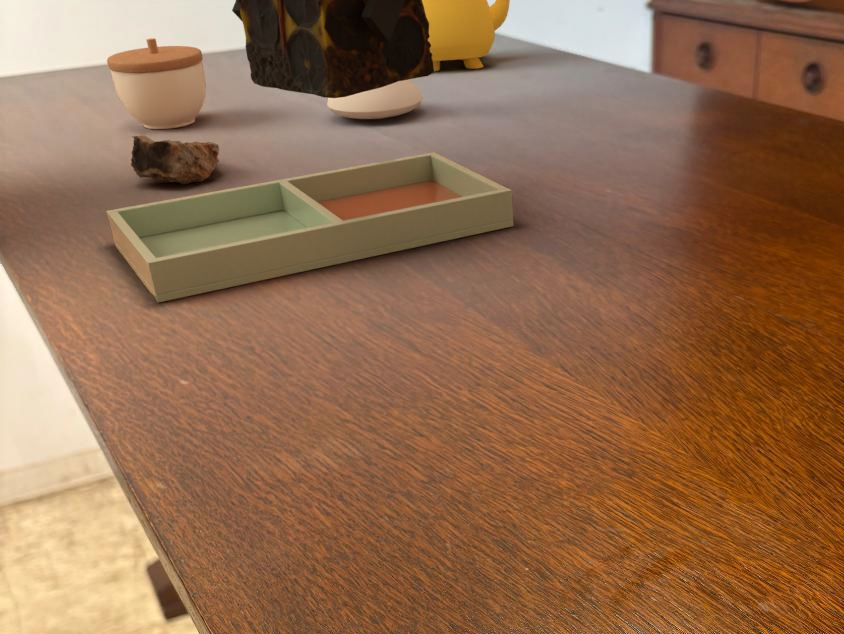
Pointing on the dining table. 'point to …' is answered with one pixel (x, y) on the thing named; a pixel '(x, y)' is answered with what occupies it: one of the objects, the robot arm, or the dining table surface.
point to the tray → (304, 223)
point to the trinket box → (160, 84)
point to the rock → (173, 160)
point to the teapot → (463, 29)
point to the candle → (332, 46)
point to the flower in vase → (378, 102)
